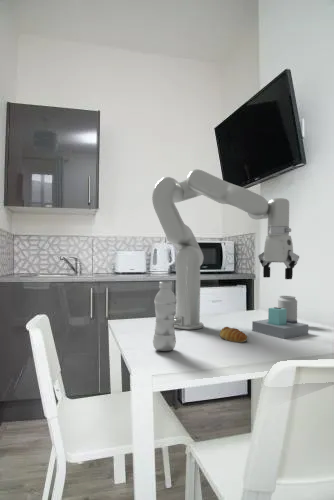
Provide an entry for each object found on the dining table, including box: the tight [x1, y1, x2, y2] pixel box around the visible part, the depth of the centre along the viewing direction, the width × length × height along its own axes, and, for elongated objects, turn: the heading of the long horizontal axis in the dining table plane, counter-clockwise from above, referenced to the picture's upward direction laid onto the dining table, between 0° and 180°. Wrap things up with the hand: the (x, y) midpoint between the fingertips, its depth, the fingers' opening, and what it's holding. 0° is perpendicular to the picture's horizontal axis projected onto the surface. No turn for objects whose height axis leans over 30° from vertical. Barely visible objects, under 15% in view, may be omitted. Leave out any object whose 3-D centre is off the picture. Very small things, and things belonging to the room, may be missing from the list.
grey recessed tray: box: [251, 319, 309, 340], centre depth 121 cm, size 14×14×4 cm
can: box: [277, 295, 298, 321], centre depth 134 cm, size 8×8×12 cm
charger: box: [267, 306, 287, 326], centre depth 120 cm, size 4×4×9 cm
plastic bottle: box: [152, 280, 177, 352], centre depth 95 cm, size 6×7×20 cm
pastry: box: [219, 326, 248, 343], centre depth 109 cm, size 9×7×4 cm
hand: (277, 278), depth 120 cm, fingers open, 9 cm apart
